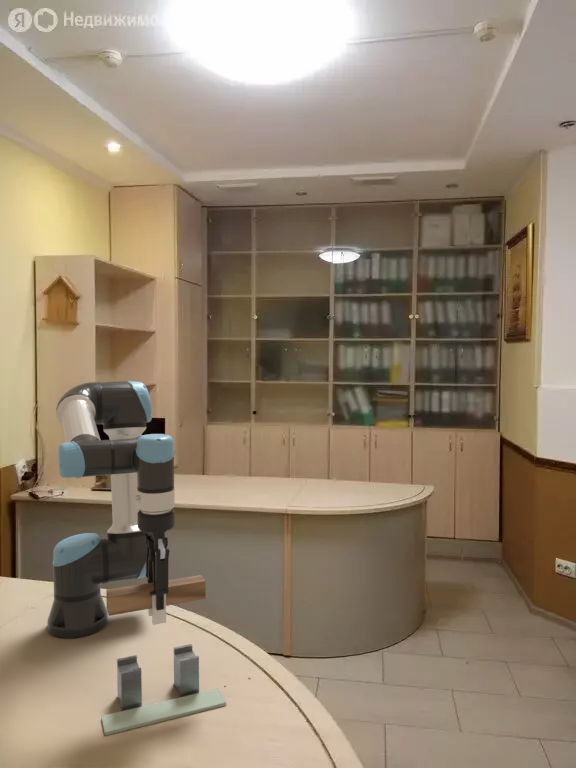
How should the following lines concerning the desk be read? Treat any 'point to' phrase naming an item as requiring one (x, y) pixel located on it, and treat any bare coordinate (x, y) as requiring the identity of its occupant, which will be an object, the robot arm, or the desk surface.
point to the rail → (141, 599)
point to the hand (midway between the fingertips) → (157, 618)
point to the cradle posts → (132, 682)
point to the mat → (162, 711)
